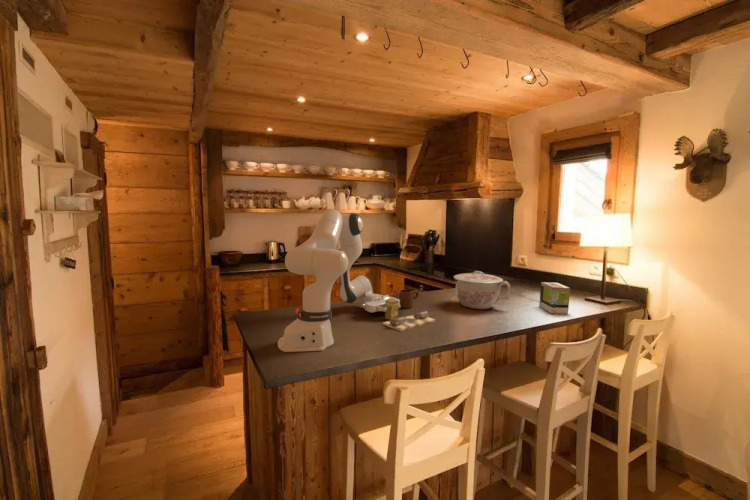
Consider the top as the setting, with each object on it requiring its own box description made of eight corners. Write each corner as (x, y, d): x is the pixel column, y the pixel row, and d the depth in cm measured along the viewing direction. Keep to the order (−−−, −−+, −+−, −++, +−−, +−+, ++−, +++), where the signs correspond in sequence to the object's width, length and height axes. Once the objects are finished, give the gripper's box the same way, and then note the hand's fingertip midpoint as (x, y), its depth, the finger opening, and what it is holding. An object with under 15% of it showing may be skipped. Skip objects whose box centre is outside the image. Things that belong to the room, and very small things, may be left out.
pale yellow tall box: (391, 320, 184) (391, 301, 183) (385, 318, 187) (385, 299, 186) (397, 318, 187) (398, 300, 186) (391, 316, 190) (392, 298, 189)
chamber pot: (442, 302, 220) (444, 268, 218) (479, 298, 232) (481, 266, 229) (473, 315, 195) (475, 277, 192) (513, 310, 206) (515, 273, 204)
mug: (414, 304, 216) (415, 288, 215) (421, 307, 209) (422, 291, 208) (396, 306, 211) (396, 289, 210) (402, 309, 204) (403, 292, 203)
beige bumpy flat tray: (400, 331, 168) (400, 323, 168) (383, 324, 178) (383, 316, 177) (435, 321, 184) (435, 313, 184) (417, 315, 193) (417, 308, 193)
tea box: (568, 314, 202) (571, 287, 200) (550, 313, 202) (552, 287, 200) (556, 306, 216) (557, 281, 215) (538, 306, 217) (540, 281, 215)
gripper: (359, 299, 189) (377, 305, 179) (389, 294, 202) (407, 299, 192) (359, 311, 190) (376, 318, 180) (388, 305, 203) (406, 311, 193)
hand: (392, 308), depth 186 cm, fingers open, 8 cm apart
